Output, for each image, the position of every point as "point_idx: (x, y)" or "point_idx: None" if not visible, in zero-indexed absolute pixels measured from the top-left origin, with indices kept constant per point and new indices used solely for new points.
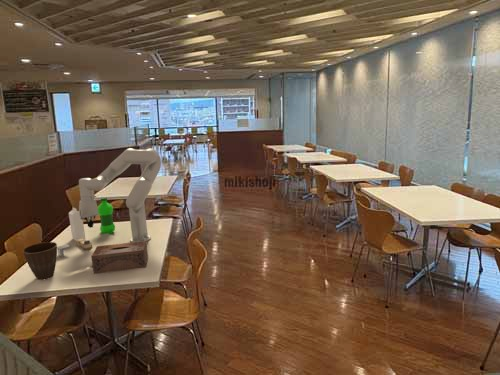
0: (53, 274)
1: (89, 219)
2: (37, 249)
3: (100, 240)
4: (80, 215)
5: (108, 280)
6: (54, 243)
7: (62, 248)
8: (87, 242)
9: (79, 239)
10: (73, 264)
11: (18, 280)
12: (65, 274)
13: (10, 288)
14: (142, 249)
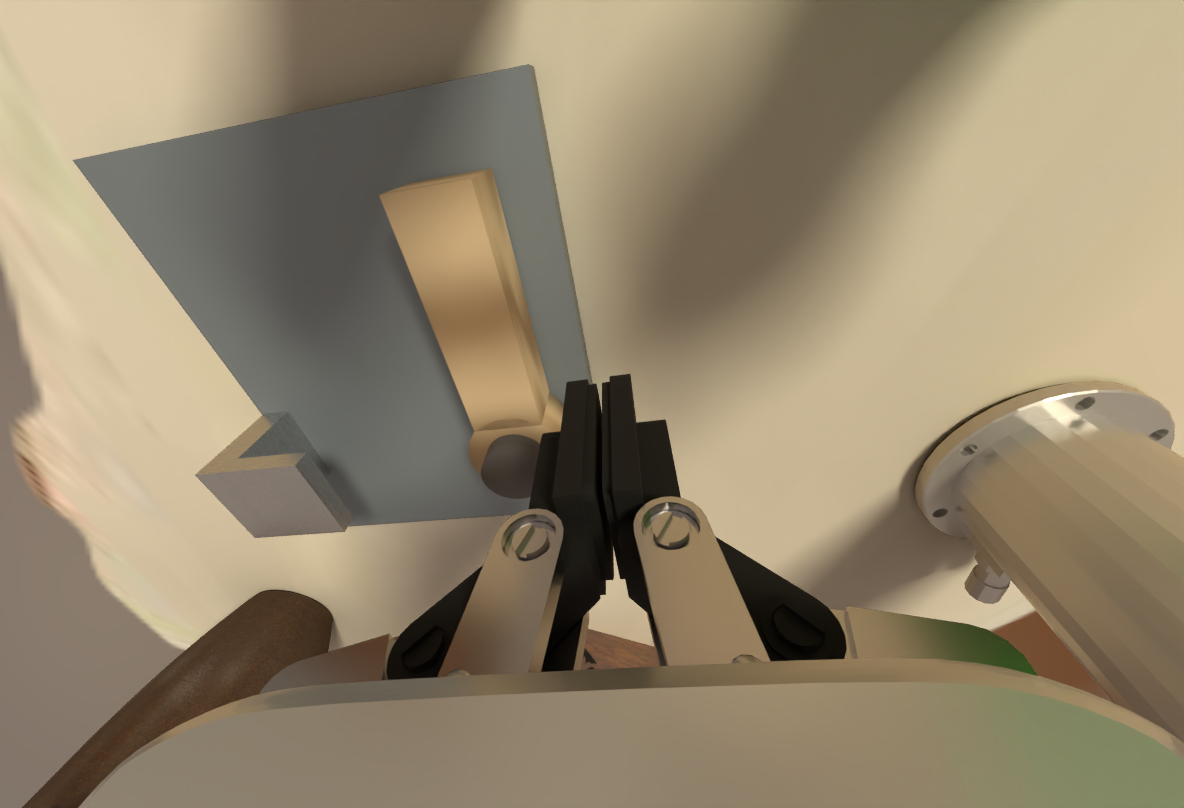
0: (331, 626)
1: (581, 654)
2: (108, 753)
3: (749, 137)
4: (122, 765)
5: None
6: None
7: (278, 535)
8: (517, 494)
9: (425, 223)
10: (421, 569)
11: (152, 577)
12: (393, 634)
13: (164, 620)
14: None
